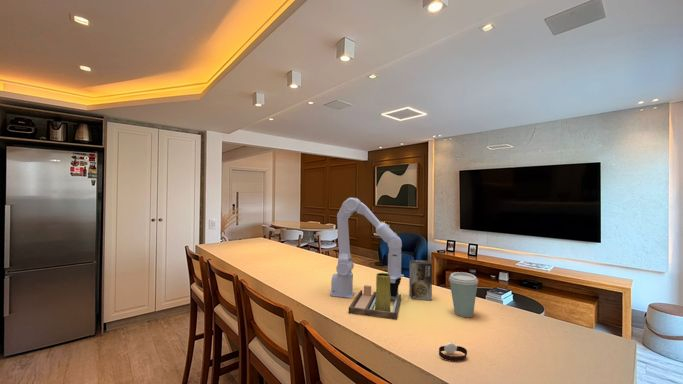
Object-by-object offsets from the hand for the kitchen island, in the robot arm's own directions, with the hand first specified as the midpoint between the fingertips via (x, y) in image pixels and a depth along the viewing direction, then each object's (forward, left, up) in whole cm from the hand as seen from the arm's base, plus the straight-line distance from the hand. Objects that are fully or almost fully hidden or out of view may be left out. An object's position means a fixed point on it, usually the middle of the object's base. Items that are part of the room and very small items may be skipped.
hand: (393, 295), depth 124 cm
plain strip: (-12, -10, -2) cm, 16 cm away
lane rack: (-6, -10, -2) cm, 12 cm away
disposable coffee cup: (+27, -7, -2) cm, 28 cm away
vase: (-3, -15, -2) cm, 16 cm away
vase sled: (-3, -9, -2) cm, 10 cm away
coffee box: (+11, +7, -2) cm, 13 cm away
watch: (+20, -41, -2) cm, 46 cm away
